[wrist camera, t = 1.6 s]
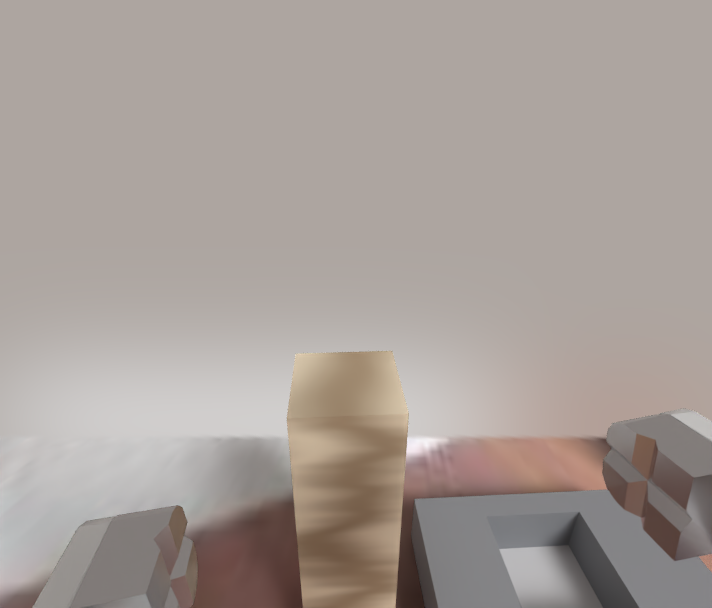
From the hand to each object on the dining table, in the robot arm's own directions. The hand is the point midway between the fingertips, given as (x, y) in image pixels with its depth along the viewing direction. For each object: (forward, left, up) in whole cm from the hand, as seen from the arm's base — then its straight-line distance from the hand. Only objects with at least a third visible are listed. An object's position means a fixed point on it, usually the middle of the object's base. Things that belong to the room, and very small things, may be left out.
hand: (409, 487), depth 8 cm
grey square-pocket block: (+13, +11, -23) cm, 28 cm away
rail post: (-1, +11, -23) cm, 25 cm away
